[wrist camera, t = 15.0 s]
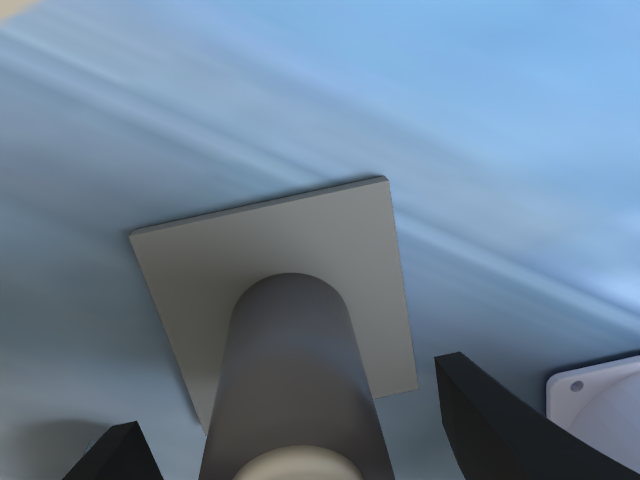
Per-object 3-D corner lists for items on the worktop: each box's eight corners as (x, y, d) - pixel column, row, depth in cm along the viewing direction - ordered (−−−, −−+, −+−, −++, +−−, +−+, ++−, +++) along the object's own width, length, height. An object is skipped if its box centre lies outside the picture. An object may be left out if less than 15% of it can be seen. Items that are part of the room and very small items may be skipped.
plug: (348, 268, 14) (405, 435, 8) (350, 370, 16) (401, 584, 9) (223, 277, 14) (173, 458, 7) (237, 380, 15) (205, 607, 9)
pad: (384, 175, 14) (388, 180, 13) (414, 378, 17) (418, 389, 16) (134, 229, 14) (128, 236, 13) (207, 423, 17) (205, 435, 16)
